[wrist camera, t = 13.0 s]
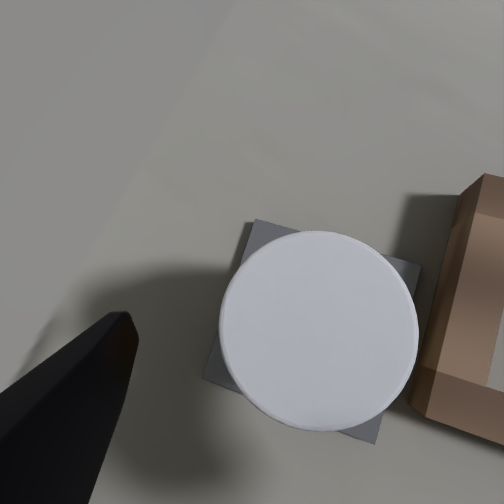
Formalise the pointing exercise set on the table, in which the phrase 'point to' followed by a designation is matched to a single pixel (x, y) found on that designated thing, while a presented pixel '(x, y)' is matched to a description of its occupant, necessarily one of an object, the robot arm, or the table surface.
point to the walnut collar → (466, 319)
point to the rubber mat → (257, 239)
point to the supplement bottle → (318, 331)
